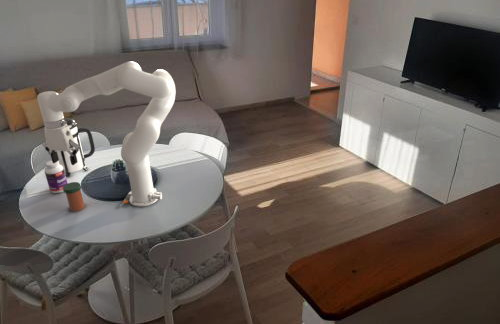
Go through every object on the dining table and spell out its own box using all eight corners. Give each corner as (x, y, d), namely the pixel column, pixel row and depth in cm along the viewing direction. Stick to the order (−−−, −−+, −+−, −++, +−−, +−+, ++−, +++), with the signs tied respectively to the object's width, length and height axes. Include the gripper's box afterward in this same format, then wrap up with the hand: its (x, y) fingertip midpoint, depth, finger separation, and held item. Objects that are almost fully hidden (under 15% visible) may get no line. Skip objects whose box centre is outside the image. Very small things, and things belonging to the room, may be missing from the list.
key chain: (129, 193, 189) (129, 190, 188) (137, 193, 188) (136, 190, 188) (117, 208, 177) (116, 205, 177) (125, 209, 177) (124, 206, 176)
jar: (87, 204, 180) (82, 184, 176) (79, 212, 175) (73, 191, 170) (75, 203, 182) (70, 182, 177) (67, 210, 177) (61, 189, 172)
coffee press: (81, 178, 203) (67, 121, 189) (52, 176, 205) (36, 120, 192) (98, 162, 218) (86, 108, 204) (71, 161, 220) (57, 108, 207)
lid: (84, 186, 176) (83, 182, 176) (74, 194, 171) (73, 190, 170) (70, 184, 178) (69, 181, 177) (60, 192, 172) (59, 189, 171)
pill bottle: (62, 194, 189) (54, 167, 182) (46, 193, 190) (38, 166, 184) (72, 186, 196) (65, 159, 189) (57, 184, 197) (49, 158, 191)
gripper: (79, 121, 162) (89, 160, 170) (42, 118, 166) (53, 157, 174) (67, 128, 155) (78, 168, 163) (29, 125, 160) (41, 165, 167)
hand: (65, 162), depth 169 cm, fingers open, 8 cm apart
